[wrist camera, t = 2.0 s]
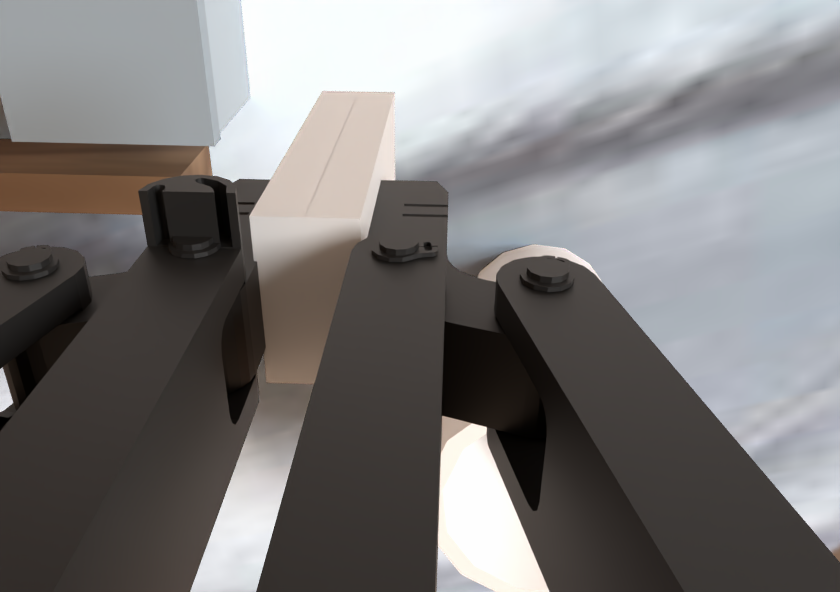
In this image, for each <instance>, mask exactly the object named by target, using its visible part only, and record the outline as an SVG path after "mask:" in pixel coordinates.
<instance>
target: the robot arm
mask: <svg viewBox="0 0 840 592" xmlns="http://www.w3.org/2000/svg"><path fill="white" fill-rule="evenodd" d="M138 193H139V199H140V205H141V210H142V216H143V222H144V228H145V233H146V239H147V245H148V247H147V248H146V249H145V250H144V252H143V253H142V254H141V255H140V257H139V258H138V259H137V260H136V262H135V263H134V264H133V265H132V267H131V268H130V269H129V270H128V272H123V273H116V274H108V275H100V276H92V277H89V276H88V272H87V267H86V262H85V258H84V257H83V256H82V255H81V254H80V253H79V252H78V251H75V250H72V249H68V248H65V247H50V246H48V245H41V246H37V248H35V246H31V247H25V248H22V249H20V251H17V252H13V253H9V254H6V255H4V256H1V257H0V369H1V368H2V367H3V369H4V373H5V376H6V379H7V383H8V386H9V390H10V393H11V396H12V400H13V404H12V405H10V406H9V407H8V408H7V409H6V410H4V411H2V412H0V592H190V590H191V587H192V585H193V582H194V579H195V576H196V574H197V571H198V568H199V565H200V563H201V560H202V557H203V554H204V552H205V549H206V546H207V543H208V541H209V538H210V535H211V532H212V529H213V527H214V524H215V521H216V518H217V516H218V513H219V510H220V507H221V505H222V502H223V499H224V496H225V494H226V491H227V488H228V485H229V483H230V480H231V477H232V474H233V472H234V469H235V466H236V463H237V460H238V458H239V455H240V452H241V449H242V447H243V444H244V441H245V438H246V436H247V433H248V430H249V427H250V425H251V422H252V419H253V416H254V414H255V411H256V408H257V405H258V403H259V388H258V379H257V369H258V366H259V364H260V361H261V358H262V356H263V353H264V363H265V372H266V382H267V383H289V384H314V387H313V390H312V394H311V397H310V401H309V404H308V408H307V412H306V415H305V419H304V422H303V426H302V430H301V433H300V437H299V440H298V444H297V448H296V451H295V455H294V458H293V462H292V465H291V469H290V473H289V476H288V480H287V483H286V487H285V491H284V494H283V498H282V501H281V505H280V509H279V512H278V516H277V519H276V523H275V526H274V530H273V534H272V537H271V541H270V544H269V548H268V552H267V555H266V559H265V562H264V566H263V570H262V573H261V577H260V580H259V584H258V587H257V591H256V592H436V589H437V559H438V528H439V497H440V466H441V440H442V416H445V417H449V418H453V419H457V420H461V421H465V422H469V423H472V424H476V425H480V426H484V427H487V432H486V434H487V443H488V447H489V449H490V451H491V454H492V456H493V458H494V461H495V463H496V466H497V468H498V470H499V473H500V475H501V478H502V480H503V482H504V485H505V487H506V489H507V492H508V494H509V497H510V499H511V501H512V504H513V506H514V509H515V511H516V513H517V516H518V518H519V520H520V523H521V525H522V528H523V530H524V532H525V535H526V537H527V540H528V542H529V544H530V547H531V549H532V551H533V554H534V556H535V559H536V561H537V563H538V566H539V568H540V570H541V573H542V575H543V578H544V580H545V582H546V585H547V587H548V590H549V592H840V562H839V561H838V560H837V559H836V557H835V556H834V555H833V554H832V553H831V552H830V550H829V549H828V548H827V547H826V546H825V545H824V543H823V542H822V541H821V540H820V539H819V537H818V536H817V535H816V534H815V533H814V532H813V530H812V529H811V528H810V527H809V526H808V524H807V523H806V522H805V521H804V520H803V519H802V517H801V516H800V515H799V514H798V513H797V512H796V510H795V509H794V508H793V507H792V506H791V504H790V503H789V502H788V501H787V500H786V499H785V497H784V496H783V495H782V494H781V493H780V492H779V490H778V489H777V488H776V487H775V486H774V484H773V483H772V482H771V481H770V480H769V479H768V477H767V476H766V475H765V474H764V473H763V471H762V470H761V469H760V468H759V467H758V466H757V464H756V463H755V462H754V461H753V460H752V459H751V457H750V456H749V455H748V454H747V453H746V451H745V450H744V449H743V448H742V447H741V446H740V444H739V443H738V442H737V441H736V440H735V439H734V437H733V436H732V435H731V434H730V433H729V431H728V430H727V429H726V428H725V427H724V426H723V424H722V423H721V422H720V421H719V420H718V419H717V417H716V416H715V415H714V414H713V413H712V411H711V410H710V409H709V408H708V407H707V406H706V404H705V403H704V402H703V401H702V400H701V398H700V397H699V396H698V395H697V394H696V393H695V391H694V390H693V389H692V388H691V387H690V386H689V384H688V383H687V382H686V381H685V380H684V378H683V377H682V376H681V375H680V374H679V373H678V371H677V370H676V369H675V368H674V367H673V366H672V364H671V363H670V362H669V361H668V360H667V358H666V357H665V356H664V355H663V354H662V353H661V351H660V350H659V349H658V348H657V347H656V346H655V344H654V343H653V342H652V341H651V340H650V338H649V337H648V336H647V335H646V334H645V333H644V331H643V330H642V329H641V328H640V327H639V325H638V324H637V323H636V322H635V321H634V320H633V318H632V317H631V316H630V315H629V314H628V313H627V311H626V310H625V309H624V308H623V307H622V305H621V304H620V303H619V302H618V301H617V300H616V298H615V297H614V296H613V295H612V294H611V293H610V291H609V290H608V289H607V288H606V287H605V285H604V284H603V283H602V282H601V281H600V280H599V278H598V277H597V276H596V275H595V274H594V273H593V272H591V271H590V270H589V269H587V268H586V267H585V266H582V265H580V264H577V263H575V262H572V261H569V260H568V259H566V258H562V257H557V258H555V256H549V255H544V256H541V257H526V258H521V259H516V260H513V261H511V262H509V263H507V264H505V265H503V266H502V267H501V268H500V269H499V271H498V272H497V274H496V282H494V281H489V280H484V279H480V278H477V277H473V276H470V275H468V274H466V273H463V272H461V271H460V270H458V269H457V268H455V267H454V266H453V265H452V264H451V263H450V262H449V260H448V257H447V223H448V192H447V191H446V190H445V189H444V188H443V187H442V186H441V185H440V184H439V183H438V182H437V181H397V180H395V92H344V91H322V93H321V94H320V96H319V98H318V100H317V101H316V103H315V105H314V106H313V108H312V110H311V111H310V113H309V115H308V117H307V118H306V120H305V122H304V123H303V125H302V127H301V129H300V130H299V132H298V134H297V135H296V137H295V139H294V141H293V142H292V144H291V146H290V147H289V149H288V151H287V152H286V154H285V156H284V158H283V159H282V161H281V163H280V164H279V166H278V168H277V170H276V171H275V173H274V175H273V176H272V178H271V180H257V179H239V180H237V181H235V182H233V183H232V182H231V181H230V180H227V179H224V178H221V177H218V176H209V175H183V176H176V177H171V178H165V179H161V180H159V181H156V182H153V183H150V184H147V185H146V186H144V187H143V188H141V189H140V190H138Z"/></svg>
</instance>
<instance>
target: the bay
mask: <svg viewBox="0 0 840 592" xmlns="http://www.w3.org/2000/svg"><path fill="white" fill-rule="evenodd" d="M183 175H209V176H212V169H211V161H210V153H209V146H183V145H139V144H95V143H51V142H12V140H11V139H0V211H18V212H57V213H96V214H135V215H142V210H141V205H140V199H139V193H138V190H140V189H141V188H143V187H144V186H146V185H147V184H150V183H153V182H156V181H159V180H161V179H165V178H171V177H176V176H183Z"/></svg>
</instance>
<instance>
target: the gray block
mask: <svg viewBox="0 0 840 592" xmlns="http://www.w3.org/2000/svg"><path fill="white" fill-rule="evenodd" d="M0 97H1V101H2V105H3V109H4V113H5V117H6V121H7V125H8V128H9V132H10V136H11V140H12V142H51V143H95V144H139V145H183V146H215V145H216V144H217V143H218V141H219V140H220V139H221V138H220V133H221V131H222V130H223V129H224V128H225V127H226V126H227V124H228V123H229V122H230V121H231V120H232V119H233V117H234V116H235V115H236V114H237V113H238V111H239V110H240V109H241V108H242V107H243V106H244V104H245V103H246V102H247V101H248V100H249V99H250V88H249V78H248V68H247V57H246V47H245V37H244V27H243V16H242V6H241V0H0Z"/></svg>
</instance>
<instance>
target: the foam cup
mask: <svg viewBox="0 0 840 592" xmlns="http://www.w3.org/2000/svg"><path fill="white" fill-rule="evenodd" d="M544 255H549V256H555V258H557V257H562V258H566V259H568V260H569V261H572V262H575V263H577V264H580V265H582V266H585V267H586V268H587V269H589V270H590V271H591V272H593V273H594V274H595V275H596V276H597V277H598V275H597V274H596V272H595V271H594V269H592V267H591V265H590V264H589V263H587V262H586V261H584V260H583V259H581V258H579V257H578V256H576V255H575V254H573V253H572V252H570V251H568V250H567V249H565V248H559V247H552V246H544V245H537V244H532V245H529V246H525V247H522V248H518V249H514V250H511V251H507V252H503V253H502V254H501V255H500V256H498V257H497V258H496V259H495V260H493V261H492V262H491V263H490V264H489V265H487V266H486V267H485V268H484V269H482V270H481V271H480V272H479V275H478V277H477V278H480V279H484V280H489V281H494V282H496V274H497V272H498V271H499V269H500V268H501V267H502V266H503V265H505V264H507V263H509V262H511V261H513V260H516V259H521V258H526V257H541V256H544ZM598 278H599V277H598ZM599 280H600V278H599ZM600 281H601V280H600ZM601 282H602V281H601ZM486 432H487V427H484V426H480V425H476V424H472V423H469V422H465V421H461V420H457V419H453V418H449V417H445V416H442V440H441V466H440V497H439V528H438V546H439V548H440V549H441V550H442V551H443V553H444V554H445V555H446V556H447V558H448V559H449V560H450V561H451V562H452V564H453V565H454V566H455V567H456V569H457V570H458V571H459V572H460V574H461V575H463V576H465V577H467V578H469V579H471V580H473V581H475V582H477V583H479V584H481V585H483V586H485V587H487V588H489V589H492V590H494V591H496V592H549V590H548V587H547V585H546V582H545V580H544V578H543V575H542V573H541V570H540V568H539V566H538V563H537V561H536V559H535V556H534V554H533V551H532V549H531V547H530V544H529V542H528V540H527V537H526V535H525V532H524V530H523V528H522V525H521V523H520V520H519V518H518V516H517V513H516V511H515V509H514V506H513V504H512V501H511V499H510V497H509V494H508V492H507V489H506V487H505V485H504V482H503V480H502V478H501V475H500V473H499V470H498V468H497V466H496V463H495V461H494V458H493V456H492V454H491V451H490V449H489V447H488V443H487V434H486Z"/></svg>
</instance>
